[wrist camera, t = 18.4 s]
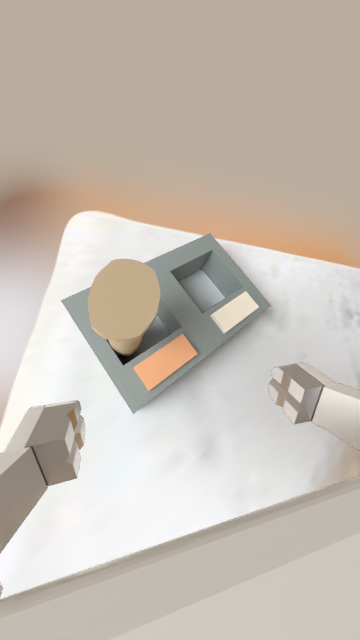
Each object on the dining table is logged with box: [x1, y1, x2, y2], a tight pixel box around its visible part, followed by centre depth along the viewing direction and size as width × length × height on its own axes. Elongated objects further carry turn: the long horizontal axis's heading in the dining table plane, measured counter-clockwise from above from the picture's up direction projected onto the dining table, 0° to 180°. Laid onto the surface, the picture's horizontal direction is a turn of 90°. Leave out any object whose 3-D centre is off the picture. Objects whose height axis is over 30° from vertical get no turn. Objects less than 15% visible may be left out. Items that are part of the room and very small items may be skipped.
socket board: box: [61, 234, 271, 414], centre depth 29 cm, size 24×15×6 cm, turn 127°
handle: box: [87, 259, 160, 357], centre depth 21 cm, size 5×6×15 cm
